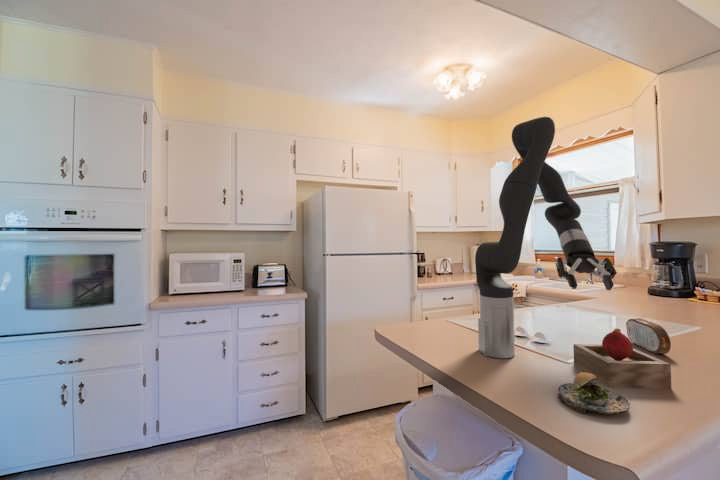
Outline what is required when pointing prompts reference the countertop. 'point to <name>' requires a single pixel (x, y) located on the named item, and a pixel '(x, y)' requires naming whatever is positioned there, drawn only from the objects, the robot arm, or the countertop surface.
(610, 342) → the onion
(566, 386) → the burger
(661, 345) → the tin
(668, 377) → the open wooden tray box
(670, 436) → the countertop surface
